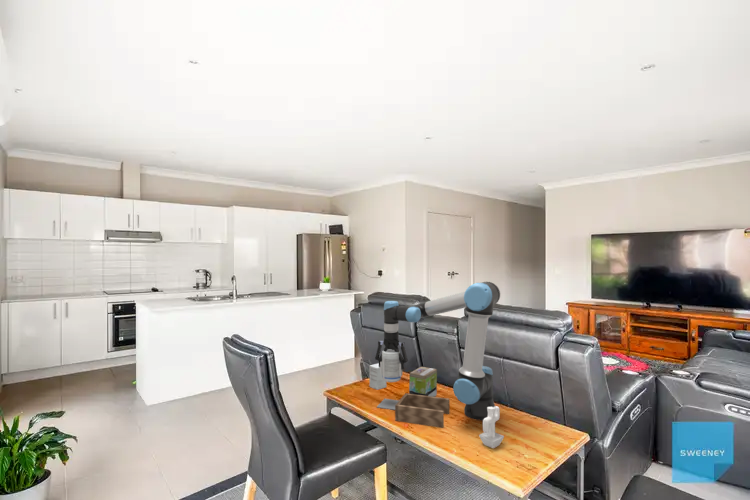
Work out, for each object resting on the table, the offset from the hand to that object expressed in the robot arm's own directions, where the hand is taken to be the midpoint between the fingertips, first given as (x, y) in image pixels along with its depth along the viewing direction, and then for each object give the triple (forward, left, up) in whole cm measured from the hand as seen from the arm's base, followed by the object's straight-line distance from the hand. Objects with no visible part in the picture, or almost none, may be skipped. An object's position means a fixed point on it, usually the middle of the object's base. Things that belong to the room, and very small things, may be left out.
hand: (391, 374), depth 197 cm
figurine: (-51, +26, -16) cm, 59 cm away
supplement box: (+16, -23, -16) cm, 32 cm away
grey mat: (0, 0, -15) cm, 15 cm away
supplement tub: (0, 0, -3) cm, 3 cm away
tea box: (-13, -15, -16) cm, 25 cm away
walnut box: (-19, +9, -15) cm, 26 cm away
